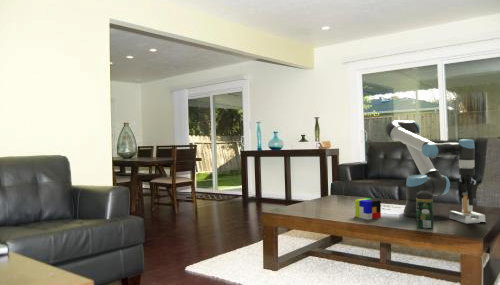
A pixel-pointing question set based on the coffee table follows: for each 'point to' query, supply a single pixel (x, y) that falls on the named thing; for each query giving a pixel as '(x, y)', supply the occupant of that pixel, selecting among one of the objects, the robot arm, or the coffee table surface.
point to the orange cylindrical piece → (465, 202)
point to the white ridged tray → (467, 217)
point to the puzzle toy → (368, 208)
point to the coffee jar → (424, 209)
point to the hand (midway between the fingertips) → (467, 210)
